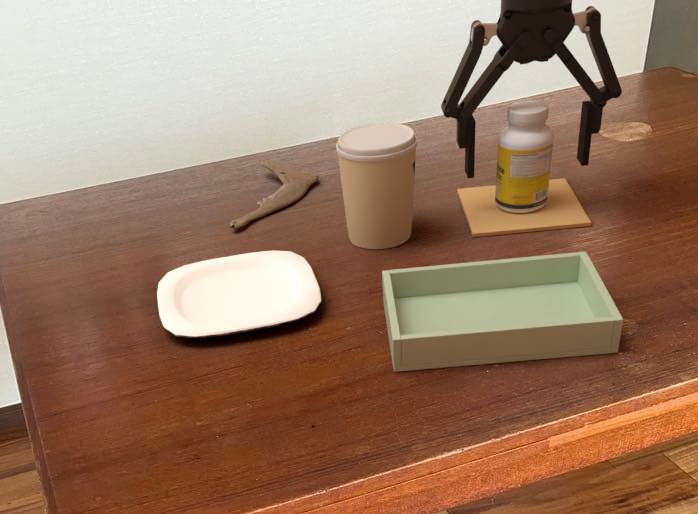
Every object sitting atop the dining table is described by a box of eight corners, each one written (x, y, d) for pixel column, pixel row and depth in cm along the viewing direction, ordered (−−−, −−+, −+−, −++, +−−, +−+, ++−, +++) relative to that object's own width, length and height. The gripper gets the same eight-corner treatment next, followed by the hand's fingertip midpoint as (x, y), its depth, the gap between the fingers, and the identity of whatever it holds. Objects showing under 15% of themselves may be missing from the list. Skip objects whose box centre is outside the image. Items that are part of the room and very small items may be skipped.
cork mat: (564, 181, 116) (565, 177, 116) (590, 226, 106) (591, 222, 105) (457, 192, 117) (457, 188, 117) (472, 237, 107) (472, 233, 106)
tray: (582, 282, 96) (586, 251, 94) (618, 352, 85) (623, 319, 83) (383, 300, 98) (381, 270, 95) (393, 372, 87) (392, 339, 84)
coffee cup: (433, 234, 108) (434, 133, 100) (373, 260, 105) (368, 156, 97) (385, 213, 114) (382, 115, 106) (327, 236, 111) (319, 137, 103)
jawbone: (323, 174, 128) (323, 160, 126) (297, 239, 113) (297, 223, 112) (261, 171, 129) (261, 157, 128) (229, 234, 115) (227, 219, 113)
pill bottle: (508, 191, 114) (514, 95, 107) (555, 198, 111) (565, 100, 104) (485, 210, 111) (490, 112, 103) (534, 218, 108) (542, 118, 100)
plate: (332, 327, 95) (330, 312, 93) (164, 356, 94) (161, 342, 92) (303, 256, 108) (301, 242, 107) (156, 280, 107) (153, 267, 106)
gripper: (648, -58, 95) (621, 145, 110) (416, -28, 97) (419, 168, 112) (670, -45, 90) (639, 167, 104) (424, -14, 92) (426, 190, 106)
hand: (525, 168), depth 108 cm, fingers open, 13 cm apart
